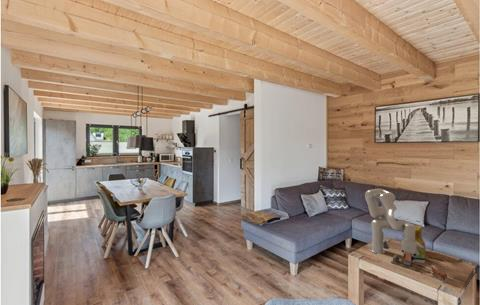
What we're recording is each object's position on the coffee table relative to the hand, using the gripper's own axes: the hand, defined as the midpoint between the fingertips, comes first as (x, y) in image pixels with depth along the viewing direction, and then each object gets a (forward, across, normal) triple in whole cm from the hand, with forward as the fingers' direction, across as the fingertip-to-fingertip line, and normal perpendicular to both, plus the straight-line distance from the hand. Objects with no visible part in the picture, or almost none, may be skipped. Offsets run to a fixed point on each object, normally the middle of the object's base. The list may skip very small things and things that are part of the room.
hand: (408, 259), depth 202 cm
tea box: (+7, 0, +19) cm, 20 cm away
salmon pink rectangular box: (+5, 0, 0) cm, 5 cm away
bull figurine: (+7, +20, -3) cm, 21 cm away
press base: (+7, 0, 0) cm, 7 cm away
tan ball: (+6, -6, 0) cm, 8 cm away
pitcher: (+7, -4, +37) cm, 38 cm away
